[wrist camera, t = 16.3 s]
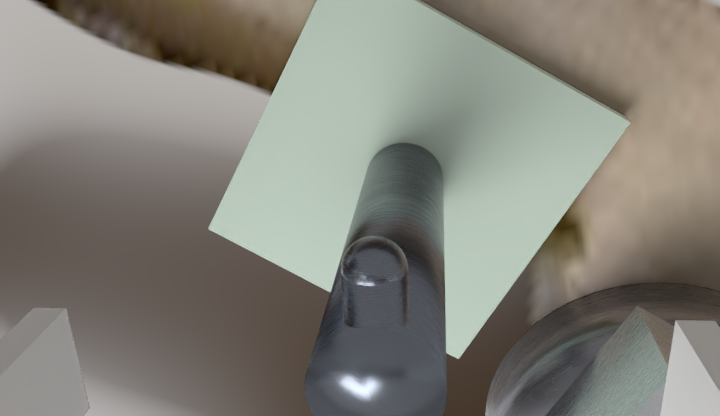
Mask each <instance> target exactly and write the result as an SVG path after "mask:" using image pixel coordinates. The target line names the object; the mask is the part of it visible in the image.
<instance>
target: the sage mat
mask: <svg viewBox="0 0 720 416" xmlns="http://www.w3.org/2000/svg"><path fill="white" fill-rule="evenodd" d="M630 123H631V122H630V121H629V120H628V119H627V118H626V117H625V116H624V115H622V114H620V113H618V112H617V111H615V110H613V109H611V108H610V107H608V106H606V105H604V104H603V103H601V102H599V101H597V100H595V99H594V98H592V97H590V96H588V95H587V94H585V93H583V92H581V91H580V90H578V89H576V88H574V87H573V86H571V85H569V84H567V83H565V82H564V81H562V80H560V79H558V78H557V77H555V76H553V75H551V74H550V73H548V72H546V71H544V70H543V69H541V68H539V67H537V66H535V65H534V64H532V63H530V62H528V61H527V60H525V59H523V58H521V57H520V56H518V55H516V54H514V53H513V52H511V51H509V50H507V49H505V48H504V47H502V46H500V45H498V44H497V43H495V42H493V41H491V40H490V39H488V38H486V37H484V36H482V35H481V34H479V33H477V32H475V31H474V30H472V29H470V28H468V27H467V26H465V25H463V24H461V23H460V22H458V21H456V20H454V19H452V18H451V17H449V16H447V15H445V14H444V13H442V12H440V11H438V10H437V9H435V8H433V7H431V6H430V5H428V4H426V3H424V2H422V1H421V0H317V1H316V3H315V5H314V7H313V9H312V12H311V14H310V16H309V18H308V20H307V22H306V24H305V26H304V28H303V30H302V33H301V35H300V37H299V39H298V41H297V43H296V45H295V47H294V49H293V51H292V54H291V56H290V58H289V60H288V62H287V64H286V66H285V68H284V70H283V73H282V75H281V77H280V79H279V81H278V83H277V85H276V87H275V89H274V91H273V94H272V96H271V98H270V100H269V102H268V104H267V106H266V108H265V110H264V113H263V115H262V117H261V119H260V121H259V123H258V125H257V127H256V129H255V131H254V134H253V136H252V138H251V140H250V142H249V144H248V146H247V148H246V151H245V153H244V155H243V157H242V159H241V161H240V163H239V165H238V167H237V169H236V171H235V174H234V176H233V178H232V180H231V182H230V184H229V186H228V189H227V190H226V193H225V195H224V197H223V199H222V201H221V203H220V205H219V207H218V210H217V211H216V214H215V216H214V218H213V220H212V222H211V224H210V226H209V228H208V229H209V230H211V231H213V232H215V233H217V234H219V235H221V236H223V237H225V238H226V239H229V240H230V241H232V242H234V243H236V244H238V245H240V246H242V247H244V248H246V249H248V250H250V251H251V252H253V253H255V254H257V255H259V256H261V257H263V258H265V259H267V260H269V261H271V262H273V263H275V264H276V265H278V266H280V267H282V268H284V269H286V270H288V271H290V272H292V273H294V274H296V275H298V276H300V277H302V278H303V279H306V280H307V281H309V282H311V283H313V284H315V285H317V286H319V287H321V288H323V289H325V290H327V291H328V292H331V289H332V286H333V282H334V279H335V276H336V272H337V269H338V266H339V262H340V259H341V256H342V252H343V249H344V246H345V242H346V239H347V235H348V232H349V229H350V225H351V222H352V219H353V215H354V212H355V209H356V205H357V202H358V199H359V195H360V192H361V188H362V185H363V182H364V178H365V175H366V172H367V168H368V166H369V163H370V161H371V160H372V158H373V157H374V156H375V155H376V154H377V153H378V152H379V151H380V150H382V149H383V148H385V147H387V146H389V145H392V144H396V143H412V144H416V145H419V146H421V147H423V148H425V149H427V150H428V151H429V152H431V153H432V154H433V155H434V156H435V158H436V159H437V160H438V162H439V164H440V166H441V169H442V173H443V193H444V254H445V315H446V353H448V354H450V355H452V356H454V357H455V358H457V359H459V358H460V356H461V355H462V354H463V352H464V351H465V349H466V348H467V347H468V345H469V344H470V343H471V341H472V340H473V338H474V337H475V336H476V334H477V333H478V332H479V330H480V329H481V328H482V326H483V325H484V323H485V322H486V321H487V319H488V318H489V317H490V315H491V314H492V313H493V311H494V310H495V308H496V307H497V306H498V304H499V303H500V302H501V300H502V299H503V297H504V296H505V295H506V293H507V292H508V291H509V289H510V288H511V286H512V285H513V284H514V282H515V281H516V280H517V278H518V277H519V275H520V274H521V273H522V271H523V270H524V269H525V267H526V266H527V264H528V263H529V262H530V260H531V259H532V258H533V256H534V255H535V253H536V252H537V251H538V249H539V248H540V247H541V245H542V244H543V242H544V241H545V240H546V238H547V237H548V236H549V234H550V233H551V231H552V230H553V229H554V227H555V226H556V225H557V223H558V222H559V221H560V219H561V218H562V216H563V215H564V214H565V212H566V211H567V210H568V208H569V207H570V205H571V204H572V203H573V201H574V200H575V199H576V197H577V196H578V194H579V193H580V192H581V190H582V189H583V188H584V186H585V185H586V183H587V182H588V181H589V179H590V178H591V177H592V175H593V174H594V172H595V171H596V170H597V168H598V167H599V166H600V164H601V163H602V161H603V160H604V159H605V157H606V156H607V155H608V153H609V152H610V150H611V149H612V148H613V146H614V145H615V144H616V142H617V141H618V139H619V138H620V137H621V135H622V134H623V133H624V131H625V130H626V128H627V127H628V126H629V124H630Z"/></svg>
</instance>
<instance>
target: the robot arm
mask: <svg viewBox="0 0 720 416" xmlns="http://www.w3.org/2000/svg"><path fill="white" fill-rule="evenodd" d="M89 408H90V406H89V402H88V398H87V394H86V390H85V386H84V381H83V377H82V373H81V369H80V365H79V361H78V356H77V352H76V348H75V344H74V340H73V335H72V331H71V327H70V323H69V319H68V314H67V310H66V308H33V309H32V310H31V311H30V312H29V313H28V314H27V315H26V316H25V317H24V318H23V319H22V320H21V321H20V322H18V323H17V324H16V325H15V326H14V327H13V328H12V329H11V330H10V331H9V332H8V333H7V334H6V335H5V336H4V337H2V338H1V339H0V416H84V415H85V413H86V412H87V411H88V409H89ZM660 416H720V327H719V326H718V324H717V323H716V321H697V320H675V326H674V333H673V339H672V345H671V351H670V358H669V364H668V370H667V376H666V383H665V389H664V395H663V401H662V408H661V414H660Z"/></svg>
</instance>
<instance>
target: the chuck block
mask: <svg viewBox="0 0 720 416" xmlns="http://www.w3.org/2000/svg"><path fill="white" fill-rule="evenodd" d="M675 320H697V321H716V323H717V324H718V326H719V327H720V292H718V291H715V290H712V289H708V288H703V287H697V286H692V285H687V284H674V283H643V284H634V285H627V286H620V287H615V288H611V289H607V290H604V291H600V292H596V293H593V294H590V295H588V296H585V297H582V298H580V299H577V300H574V301H572V302H570V303H569V304H567V305H565V306H563V307H561V308H559V309H557V310H555V311H553V312H552V313H550V314H549V315H547V316H546V317H545V318H543V319H542V320H540V321H539V322H537V323H536V324H535V325H534V326H533V327H531V328H530V329H529V330H528V331H527V332H526V333H525V334H523V335H522V336H521V337H520V339H519V340H518V341H517V342H516V343H515V344H514V345H513V347H512V348H511V349H510V350H509V351H508V353H507V354H506V356H505V357H504V359H503V361H502V362H501V364H500V365H499V367H498V369H497V371H496V374H495V376H494V378H493V380H492V383H491V386H490V390H489V393H488V397H487V404H486V412H485V416H660V414H661V408H662V401H663V395H664V389H665V383H666V376H667V370H668V364H669V358H670V351H671V345H672V339H673V333H674V326H675Z"/></svg>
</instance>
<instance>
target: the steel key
mask: <svg viewBox="0 0 720 416" xmlns="http://www.w3.org/2000/svg"><path fill="white" fill-rule="evenodd" d="M446 379H447V378H446V315H445V254H444V193H443V173H442V169H441V166H440V164H439V162H438V160H437V159H436V158H435V156H434V155H433V154H432V153H431V152H429V151H428V150H427V149H425V148H423V147H421V146H419V145H416V144H412V143H396V144H392V145H389V146H387V147H385V148H383V149H382V150H380V151H379V152H378V153H377V154H376V155H375V156H374V157H373V158H372V160H371V161H370V163H369V166H368V168H367V172H366V175H365V178H364V182H363V185H362V188H361V192H360V195H359V199H358V202H357V205H356V209H355V212H354V215H353V219H352V222H351V225H350V229H349V232H348V235H347V239H346V242H345V246H344V249H343V252H342V256H341V259H340V262H339V266H338V269H337V272H336V276H335V279H334V282H333V286H332V289H331V292H330V296H329V299H328V303H327V306H326V309H325V313H324V316H323V319H322V323H321V326H320V329H319V333H318V336H317V339H316V343H315V346H314V350H313V353H312V356H311V360H310V363H309V366H308V370H307V373H306V377H305V395H306V399H307V402H308V406H309V407H310V409H311V411H312V413H313V415H314V416H442V414H443V412H444V409H445V406H446V399H447V380H446Z"/></svg>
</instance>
